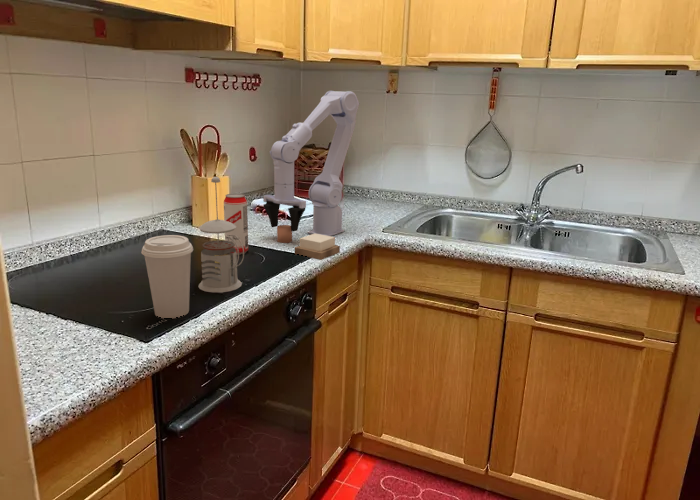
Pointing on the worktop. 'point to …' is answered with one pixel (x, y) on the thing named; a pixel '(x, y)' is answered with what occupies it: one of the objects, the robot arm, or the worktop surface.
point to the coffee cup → (169, 274)
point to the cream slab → (317, 242)
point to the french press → (224, 275)
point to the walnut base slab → (317, 252)
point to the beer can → (237, 220)
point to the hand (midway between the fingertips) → (284, 228)
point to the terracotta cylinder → (284, 234)
